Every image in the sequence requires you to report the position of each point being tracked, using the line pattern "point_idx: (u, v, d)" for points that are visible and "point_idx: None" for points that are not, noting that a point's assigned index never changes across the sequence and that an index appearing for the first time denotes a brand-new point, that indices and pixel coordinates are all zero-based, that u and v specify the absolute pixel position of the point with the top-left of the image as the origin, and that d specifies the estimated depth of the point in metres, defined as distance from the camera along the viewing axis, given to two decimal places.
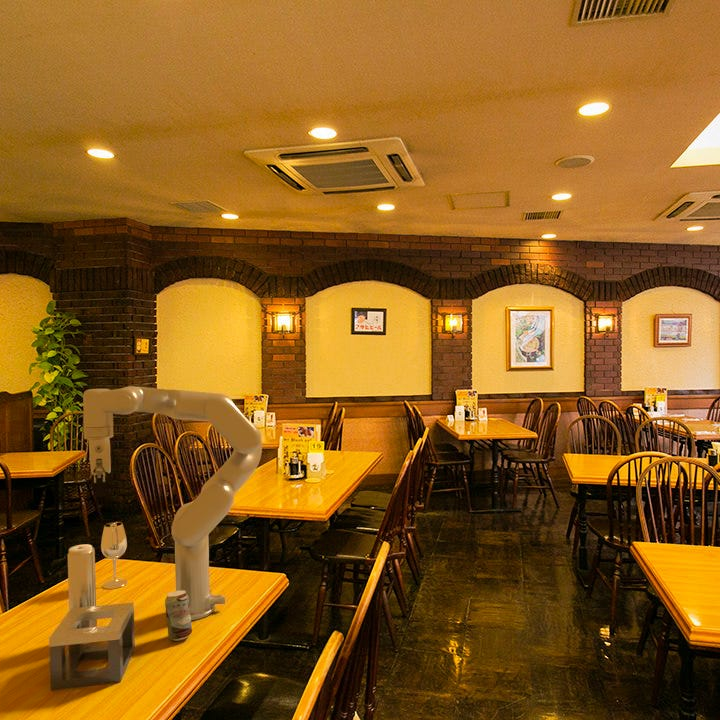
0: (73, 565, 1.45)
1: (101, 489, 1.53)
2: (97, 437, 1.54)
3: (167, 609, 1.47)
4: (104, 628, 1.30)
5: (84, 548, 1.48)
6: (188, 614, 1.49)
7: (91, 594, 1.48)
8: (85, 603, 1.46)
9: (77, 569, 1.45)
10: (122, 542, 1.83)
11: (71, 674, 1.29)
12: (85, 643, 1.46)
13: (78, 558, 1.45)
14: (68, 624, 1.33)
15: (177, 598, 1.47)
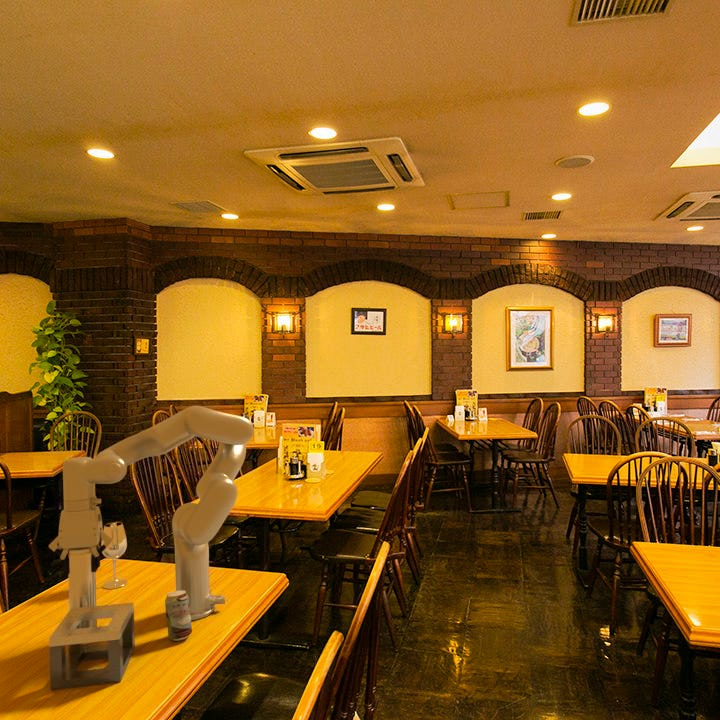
0: (73, 565, 1.45)
1: (99, 561, 1.50)
2: (94, 507, 1.49)
3: (167, 609, 1.47)
4: (104, 628, 1.30)
5: (85, 548, 1.48)
6: (188, 614, 1.49)
7: (91, 594, 1.48)
8: (86, 603, 1.46)
9: (77, 569, 1.45)
10: (122, 542, 1.83)
11: (71, 674, 1.29)
12: (85, 643, 1.46)
13: (78, 558, 1.45)
14: (68, 624, 1.33)
15: (177, 598, 1.47)
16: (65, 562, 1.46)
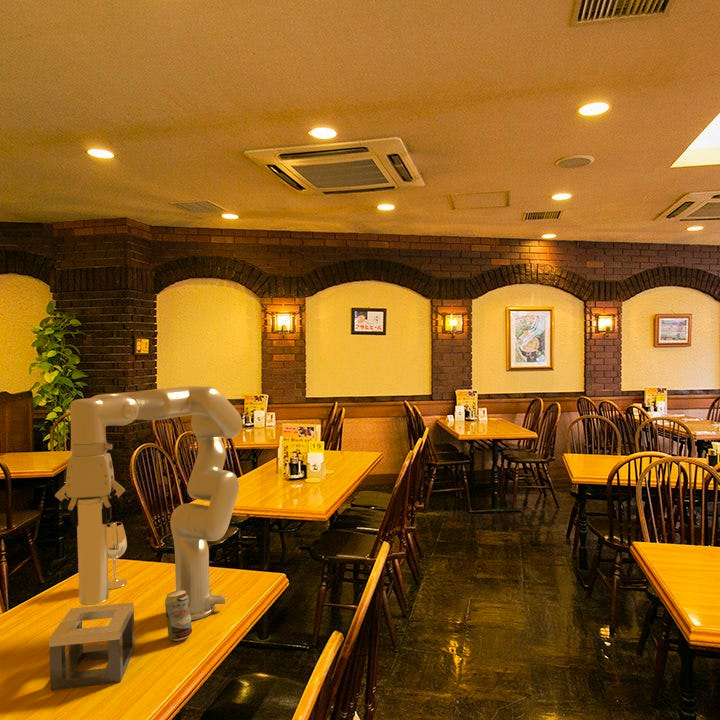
0: (83, 516, 1.32)
1: (111, 513, 1.36)
2: (105, 452, 1.35)
3: (167, 609, 1.47)
4: (104, 628, 1.30)
5: (95, 497, 1.34)
6: (188, 614, 1.49)
7: (102, 548, 1.34)
8: (96, 558, 1.33)
9: (87, 520, 1.32)
10: (122, 542, 1.83)
11: (71, 674, 1.29)
12: (96, 602, 1.33)
13: (88, 508, 1.32)
14: (68, 624, 1.33)
15: (177, 598, 1.47)
16: (73, 513, 1.33)
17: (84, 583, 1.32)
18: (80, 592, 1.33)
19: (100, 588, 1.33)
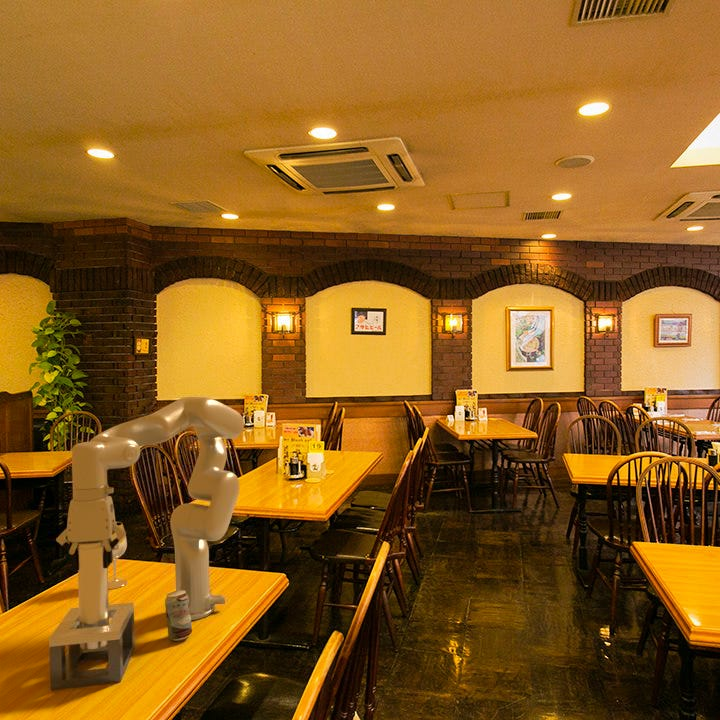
0: (84, 560, 1.32)
1: (112, 556, 1.36)
2: (106, 496, 1.35)
3: (167, 609, 1.47)
4: (104, 628, 1.30)
5: (96, 541, 1.34)
6: (188, 614, 1.49)
7: (103, 592, 1.34)
8: (97, 602, 1.33)
9: (88, 565, 1.32)
10: (122, 542, 1.83)
11: (71, 674, 1.29)
12: (97, 646, 1.33)
13: (89, 552, 1.32)
14: (68, 624, 1.33)
15: (177, 598, 1.47)
16: (74, 557, 1.33)
17: None
18: None
19: None
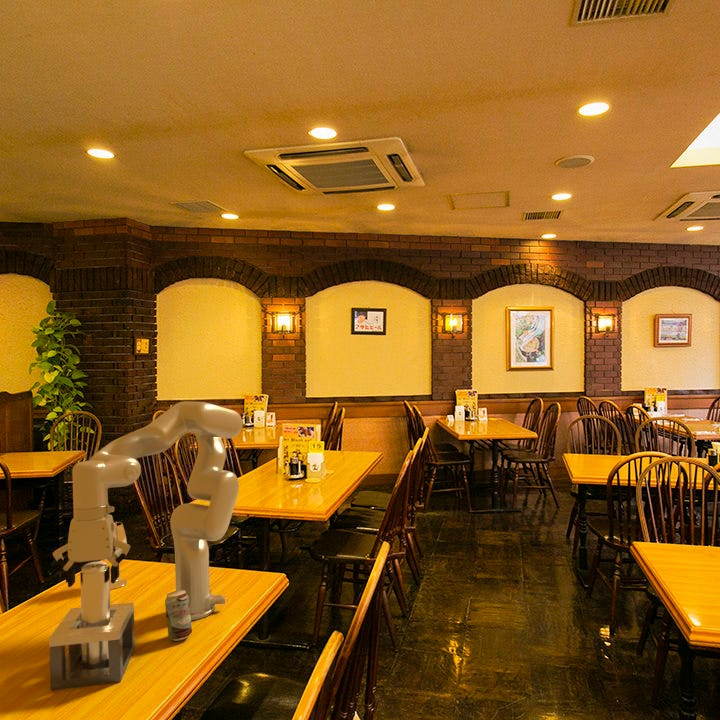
0: (86, 585, 1.32)
1: None
2: (107, 515, 1.35)
3: (167, 609, 1.47)
4: (104, 628, 1.30)
5: (99, 566, 1.35)
6: (188, 614, 1.49)
7: (106, 617, 1.34)
8: None
9: (91, 589, 1.32)
10: None
11: (71, 674, 1.29)
12: None
13: (92, 577, 1.32)
14: (68, 624, 1.33)
15: (177, 598, 1.47)
16: (69, 573, 1.33)
17: (87, 652, 1.32)
18: (83, 661, 1.33)
19: (103, 657, 1.34)
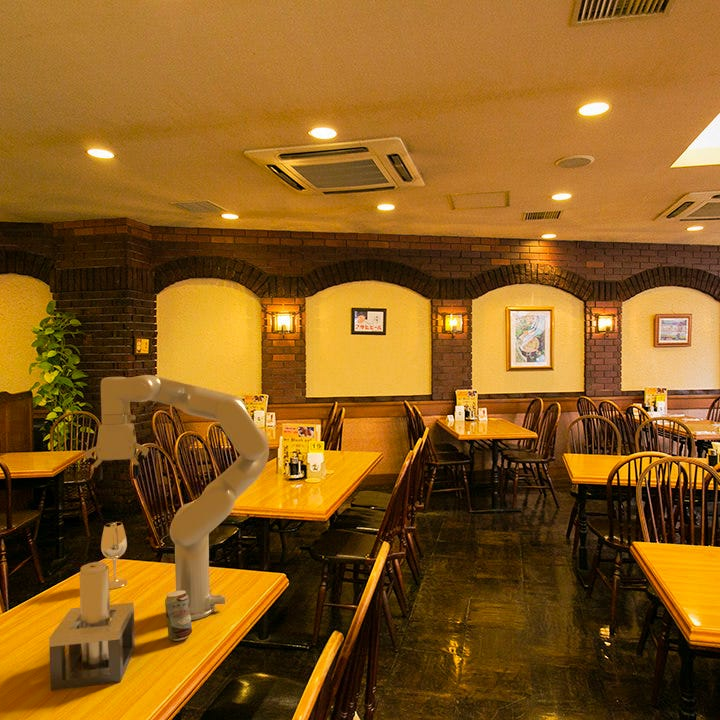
0: (86, 585, 1.32)
1: (139, 470, 1.62)
2: (129, 422, 1.61)
3: (167, 609, 1.47)
4: (104, 628, 1.30)
5: (98, 566, 1.35)
6: (188, 614, 1.49)
7: (105, 617, 1.34)
8: None
9: (90, 590, 1.32)
10: (122, 542, 1.83)
11: (71, 674, 1.29)
12: None
13: (91, 578, 1.32)
14: (68, 624, 1.33)
15: (177, 598, 1.47)
16: (97, 469, 1.58)
17: (87, 653, 1.32)
18: (83, 661, 1.33)
19: (103, 657, 1.34)
